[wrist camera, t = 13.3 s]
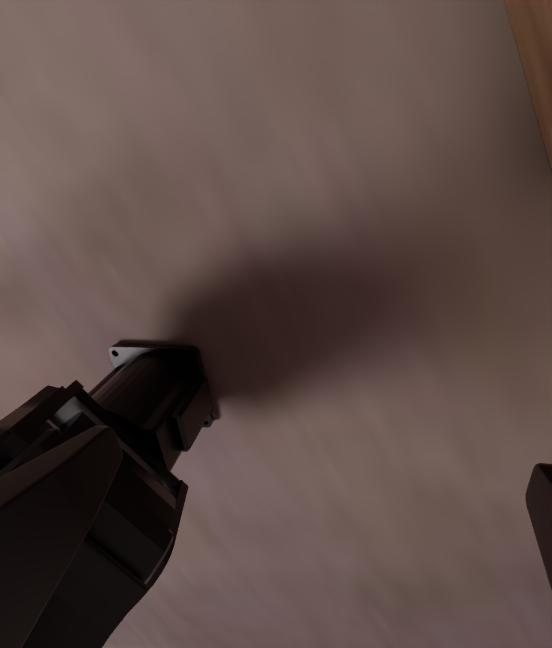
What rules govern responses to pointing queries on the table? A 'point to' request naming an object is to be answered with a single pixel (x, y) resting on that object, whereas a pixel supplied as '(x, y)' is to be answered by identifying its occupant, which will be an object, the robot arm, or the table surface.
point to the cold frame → (536, 57)
